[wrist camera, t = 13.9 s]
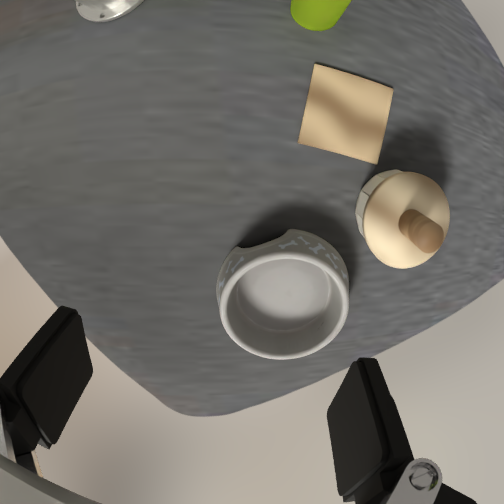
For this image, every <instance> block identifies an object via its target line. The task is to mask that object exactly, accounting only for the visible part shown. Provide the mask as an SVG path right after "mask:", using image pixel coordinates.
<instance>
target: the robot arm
mask: <svg viewBox="0 0 504 504" xmlns="http://www.w3.org/2000/svg"><path fill="white" fill-rule="evenodd" d="M75 1H76V7H77V10H78V12H79V14H80V15H81V16H82V17H84V18H86V19H87V20H90V21H92V22H107V21H111V20H114V19H117V18H119V17H122V16H123V15H125V14H127V13H129V12H130V11H132V10H133V9H135V8H136V7H137V6H138V5H140V4H141V3H142V2H143V1H144V0H75ZM92 373H93V367H92V363H91V359H90V355H89V351H88V347H87V342H86V338H85V333H84V328H83V323H82V318H81V316H80V315H78V312H77V310H75V309H72V308H69V307H65V306H60V307H59V308H58V309H57V310H56V312H55V313H54V314H53V315H52V316H51V317H50V318H49V319H48V320H47V322H46V323H45V324H44V325H43V326H42V327H41V328H40V330H39V331H38V332H37V333H36V334H35V335H34V337H33V338H32V339H31V340H30V341H29V343H28V344H27V345H26V346H25V348H24V349H23V350H22V351H21V352H20V354H19V355H18V356H17V357H16V359H15V360H14V361H13V362H12V364H11V365H10V366H9V368H8V369H7V370H6V371H5V373H4V374H3V375H2V377H1V378H0V504H101V503H98V502H95V501H93V500H90V499H88V498H85V497H83V496H80V495H78V494H76V493H74V492H71V491H69V490H67V489H65V488H63V487H60V486H58V485H56V484H54V483H52V482H50V481H48V480H46V479H44V478H43V476H42V472H41V469H40V466H39V463H38V460H37V456H36V452H35V448H36V446H37V444H39V445H41V446H43V447H45V448H47V449H50V447H51V445H52V444H55V443H56V442H57V441H58V439H59V437H60V435H61V433H62V431H63V429H64V427H65V425H66V423H67V421H68V419H69V417H70V415H71V413H72V411H73V410H74V408H75V406H76V404H77V402H78V400H79V398H80V397H81V395H82V393H83V391H84V389H85V387H86V385H87V384H88V382H89V380H90V378H91V376H92ZM327 420H328V426H329V432H330V438H331V445H332V452H333V459H334V466H335V473H336V480H337V488H338V493H339V495H340V496H343V502H351V501H355V503H356V504H477V503H476V501H474V500H473V499H471V498H469V497H467V496H466V495H463V494H462V493H460V492H458V491H456V490H454V489H452V488H451V487H449V486H447V485H445V484H443V483H442V473H441V470H440V468H439V467H438V466H437V464H436V463H434V462H433V461H431V460H429V459H426V458H419V459H415V460H414V457H413V454H412V451H411V448H410V445H409V442H408V439H407V436H406V433H405V430H404V427H403V424H402V421H401V418H400V416H399V413H398V410H397V407H396V404H395V402H394V399H393V398H392V396H391V395H390V392H389V390H388V387H387V384H386V382H385V379H384V376H383V374H382V371H381V369H380V366H379V364H378V361H377V359H375V358H359V359H358V360H357V361H354V362H353V363H352V364H351V366H350V368H349V370H348V373H347V374H346V376H345V378H344V380H343V382H342V384H341V386H340V388H339V390H338V392H337V393H336V395H335V397H334V399H333V401H332V403H331V405H330V406H329V408H328V411H327Z"/></svg>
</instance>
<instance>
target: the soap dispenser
mask: <svg viewBox="0 0 504 504" xmlns="http://www.w3.org/2000/svg"><path fill="white" fill-rule="evenodd" d="M351 1H352V0H292V1H291V7H290V11H291V15H292V17H293V18H294V20H295V21H296V22H297V23H298V24H299V25H301V26H302V27H304V28H306V29H309V30H313V31H323V30H327V29H330V28H331V27H333V26H334V25H335V24H336V23H337V21H338V20H339V18H340V17H341V15H342V14H343V12H344V11H345V9H346V8H347V6H348V5H349V3H350V2H351Z"/></svg>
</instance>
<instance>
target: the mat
mask: <svg viewBox="0 0 504 504" xmlns="http://www.w3.org/2000/svg"><path fill="white" fill-rule="evenodd" d="M392 94H393V89H392V88H389V87H386V86H384V85H381V84H378V83H376V82H373V81H370V80H367V79H364V78H361V77H358V76H355V75H352V74H349V73H346V72H342V71H339V70H336V69H332V68H329V67H325V66H321V65H317V64H314V68H313V73H312V78H311V83H310V87H309V92H308V97H307V102H306V106H305V111H304V116H303V120H302V125H301V129H300V134H299V139H298V143H300V144H304V145H309V146H313V147H317V148H321V149H324V150H328V151H332V152H336V153H339V154H343V155H346V156H350V157H353V158H357V159H360V160H364V161H367V162H370V163H373V164H377V163H378V159H379V155H380V150H381V146H382V142H383V138H384V133H385V129H386V124H387V119H388V114H389V109H390V104H391V99H392Z"/></svg>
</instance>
